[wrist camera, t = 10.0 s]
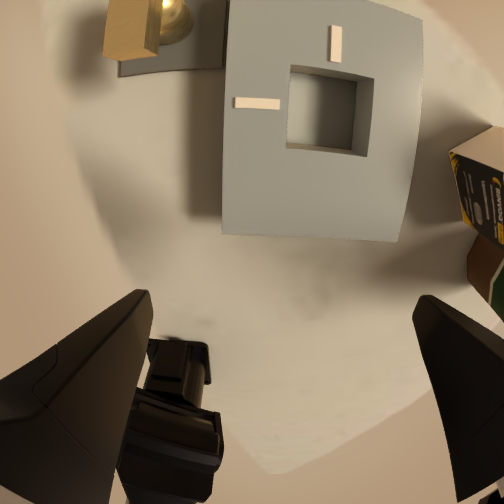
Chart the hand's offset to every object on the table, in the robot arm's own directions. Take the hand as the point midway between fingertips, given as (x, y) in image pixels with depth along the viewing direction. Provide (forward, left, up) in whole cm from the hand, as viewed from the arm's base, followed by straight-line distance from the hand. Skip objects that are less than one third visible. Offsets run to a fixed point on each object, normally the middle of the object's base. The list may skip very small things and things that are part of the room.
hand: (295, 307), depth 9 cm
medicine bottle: (+4, -19, -13) cm, 23 cm away
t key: (+12, +7, -12) cm, 18 cm away
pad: (+12, +7, -12) cm, 19 cm away
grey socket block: (+6, -3, -12) cm, 14 cm away
